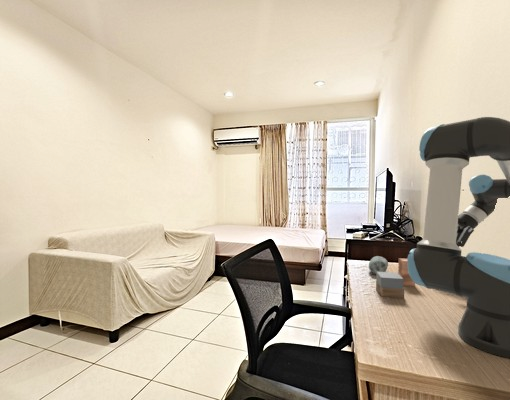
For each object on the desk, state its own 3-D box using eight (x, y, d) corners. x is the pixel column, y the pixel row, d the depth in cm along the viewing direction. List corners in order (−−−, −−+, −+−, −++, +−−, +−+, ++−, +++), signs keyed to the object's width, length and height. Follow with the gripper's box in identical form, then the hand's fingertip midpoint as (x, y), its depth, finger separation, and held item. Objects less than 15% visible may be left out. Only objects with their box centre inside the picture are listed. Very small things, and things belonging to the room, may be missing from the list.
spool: (390, 272, 124) (380, 252, 128) (371, 278, 128) (362, 258, 132) (394, 272, 134) (385, 253, 139) (376, 277, 138) (368, 259, 143)
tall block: (415, 286, 114) (415, 261, 113) (403, 285, 114) (403, 261, 114) (409, 282, 119) (410, 258, 118) (398, 281, 119) (398, 258, 119)
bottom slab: (404, 299, 101) (404, 288, 101) (382, 297, 102) (382, 287, 102) (396, 291, 109) (396, 282, 108) (376, 290, 110) (376, 281, 110)
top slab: (403, 289, 100) (403, 278, 100) (381, 287, 102) (381, 277, 102) (397, 282, 108) (397, 272, 108) (376, 280, 110) (376, 271, 110)
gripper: (500, 228, 100) (457, 265, 102) (458, 221, 124) (424, 251, 127) (484, 214, 100) (442, 252, 103) (446, 210, 125) (413, 240, 127)
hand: (432, 251), depth 115 cm, fingers open, 13 cm apart
